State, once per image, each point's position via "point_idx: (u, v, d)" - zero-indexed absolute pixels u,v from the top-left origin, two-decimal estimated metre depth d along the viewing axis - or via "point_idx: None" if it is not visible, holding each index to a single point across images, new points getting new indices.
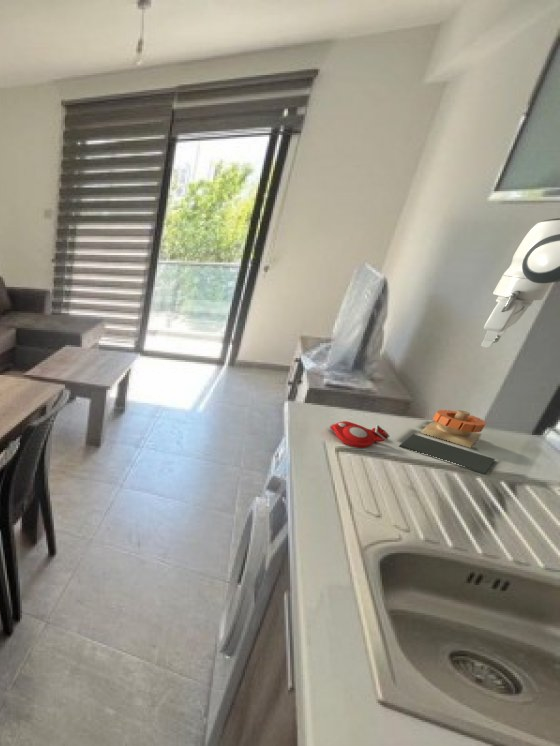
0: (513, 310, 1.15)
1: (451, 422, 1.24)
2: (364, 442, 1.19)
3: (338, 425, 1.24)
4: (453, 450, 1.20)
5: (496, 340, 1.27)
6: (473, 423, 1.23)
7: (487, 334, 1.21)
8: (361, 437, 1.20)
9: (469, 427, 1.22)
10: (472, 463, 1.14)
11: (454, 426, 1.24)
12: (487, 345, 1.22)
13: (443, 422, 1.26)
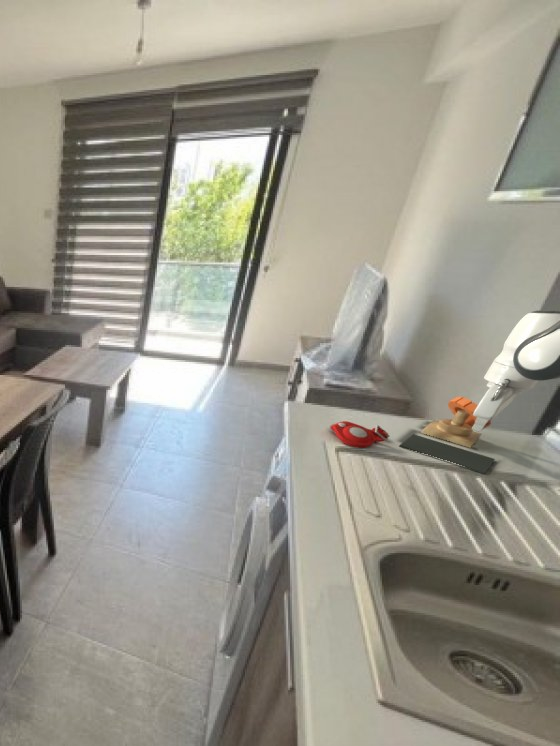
0: (502, 400, 1.14)
1: (471, 404, 1.22)
2: (364, 442, 1.19)
3: (338, 425, 1.24)
4: (453, 450, 1.20)
5: None
6: None
7: (478, 419, 1.20)
8: (361, 437, 1.20)
9: None
10: (472, 463, 1.14)
11: (471, 408, 1.22)
12: (478, 429, 1.21)
13: (463, 402, 1.24)
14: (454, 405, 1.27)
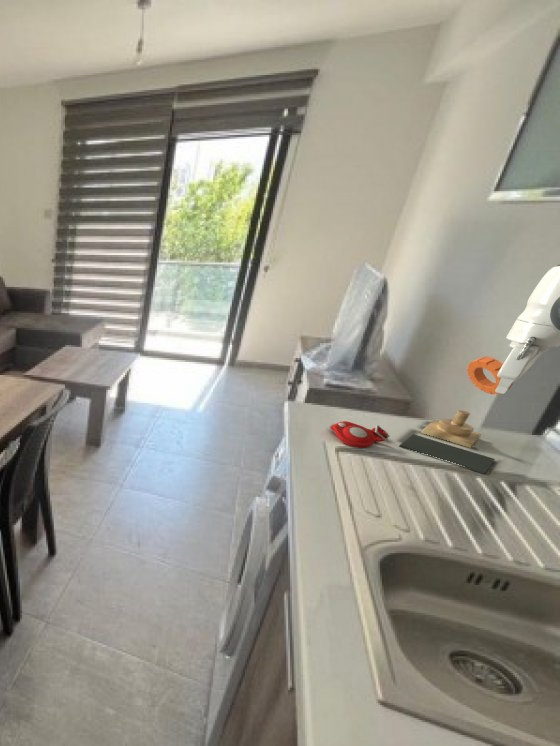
0: (529, 358, 1.08)
1: (495, 361, 1.17)
2: (364, 442, 1.19)
3: (338, 425, 1.24)
4: (453, 450, 1.20)
5: None
6: None
7: (502, 380, 1.15)
8: (361, 437, 1.20)
9: None
10: (472, 463, 1.14)
11: (495, 365, 1.17)
12: (502, 391, 1.16)
13: (486, 360, 1.19)
14: (474, 367, 1.22)
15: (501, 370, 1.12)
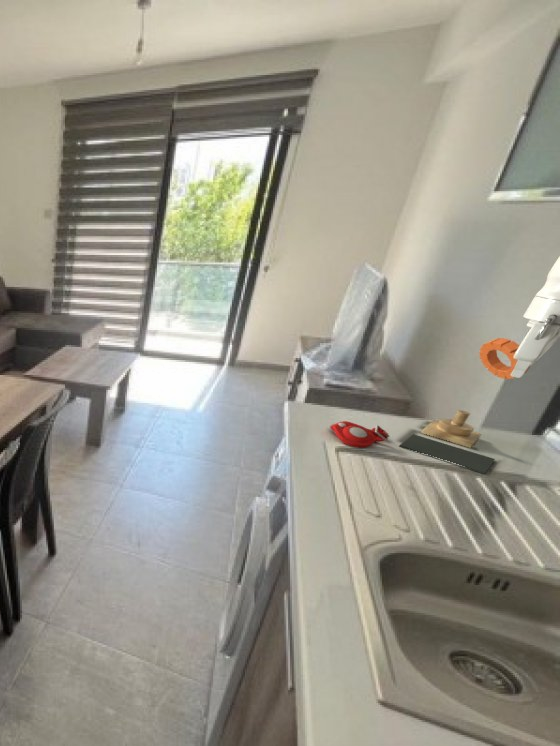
0: (549, 338, 0.98)
1: (511, 342, 1.08)
2: (364, 442, 1.19)
3: (338, 425, 1.24)
4: (453, 450, 1.20)
5: None
6: None
7: (518, 363, 1.06)
8: (361, 437, 1.20)
9: None
10: (472, 463, 1.14)
11: (510, 347, 1.07)
12: (518, 375, 1.07)
13: (500, 341, 1.09)
14: (487, 349, 1.13)
15: (518, 351, 1.02)
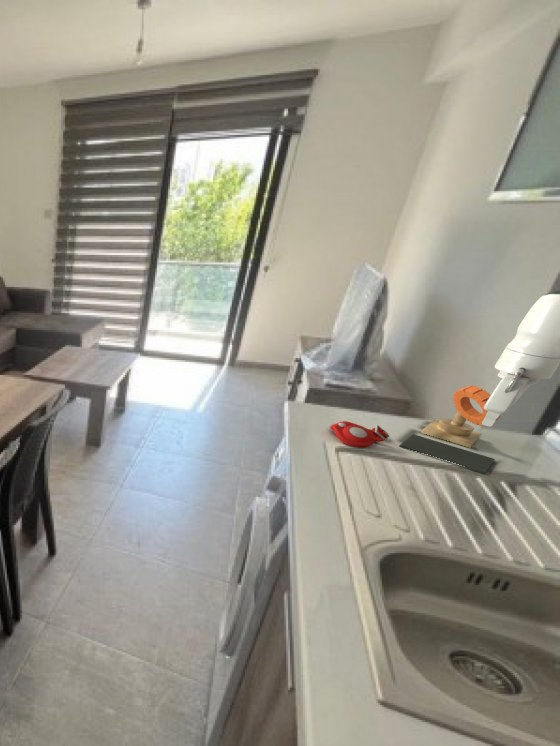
0: (517, 392, 1.01)
1: (482, 391, 1.10)
2: (364, 442, 1.19)
3: (338, 425, 1.24)
4: (453, 450, 1.20)
5: None
6: None
7: (489, 412, 1.08)
8: (361, 437, 1.20)
9: None
10: (472, 463, 1.14)
11: (482, 396, 1.10)
12: (489, 424, 1.09)
13: (472, 390, 1.12)
14: (460, 396, 1.15)
15: (488, 403, 1.04)
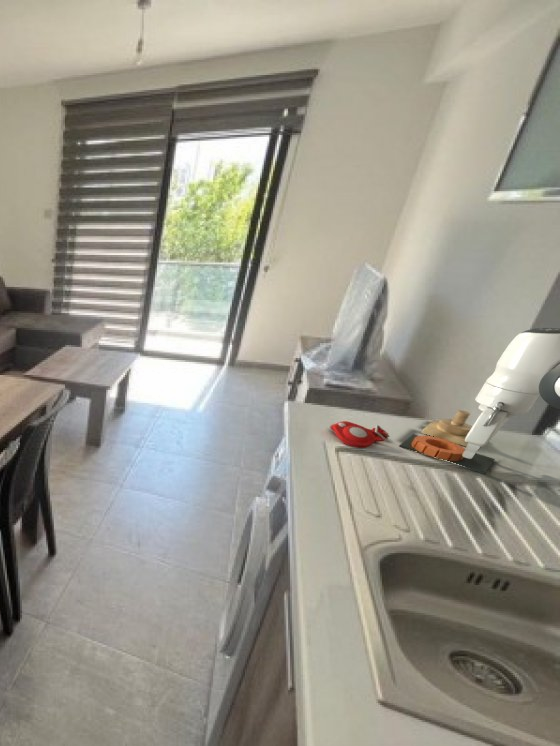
0: (496, 426, 1.04)
1: (427, 449, 1.17)
2: (364, 442, 1.19)
3: (338, 425, 1.24)
4: None
5: (479, 446, 1.17)
6: (451, 451, 1.15)
7: (469, 445, 1.11)
8: (361, 437, 1.20)
9: (446, 455, 1.15)
10: (472, 463, 1.14)
11: (430, 453, 1.16)
12: (469, 456, 1.12)
13: (419, 448, 1.18)
14: None
15: (468, 435, 1.08)
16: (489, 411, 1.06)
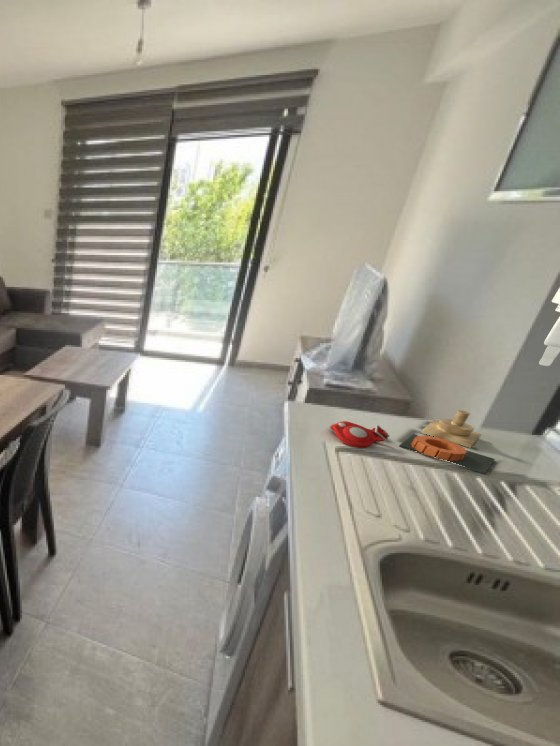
0: None
1: (427, 449, 1.17)
2: (364, 442, 1.19)
3: (338, 425, 1.24)
4: None
5: None
6: (451, 451, 1.15)
7: (547, 350, 1.01)
8: (361, 437, 1.20)
9: (446, 455, 1.15)
10: (472, 463, 1.14)
11: (430, 453, 1.16)
12: (547, 363, 1.02)
13: (419, 448, 1.18)
14: None
15: (549, 337, 0.98)
16: None
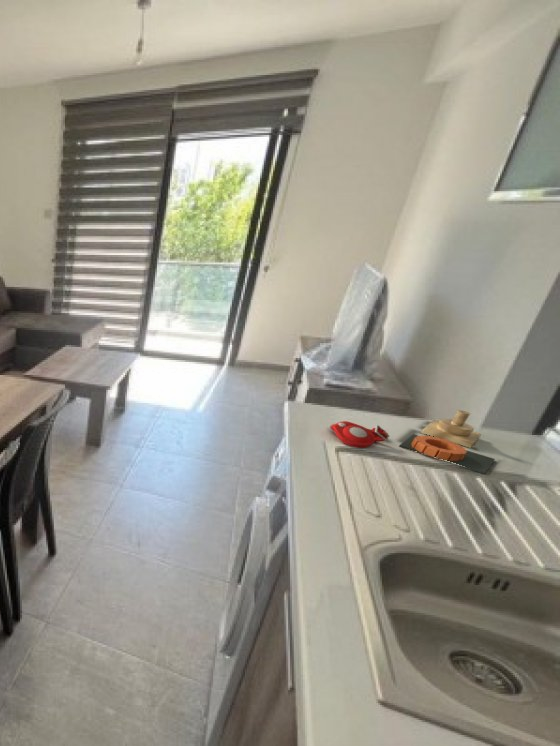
0: None
1: (427, 449, 1.17)
2: (364, 442, 1.19)
3: (338, 425, 1.24)
4: None
5: None
6: (451, 451, 1.15)
7: None
8: (361, 437, 1.20)
9: (446, 455, 1.15)
10: (472, 463, 1.14)
11: (430, 453, 1.16)
12: None
13: (419, 448, 1.18)
14: None
15: None
16: None
